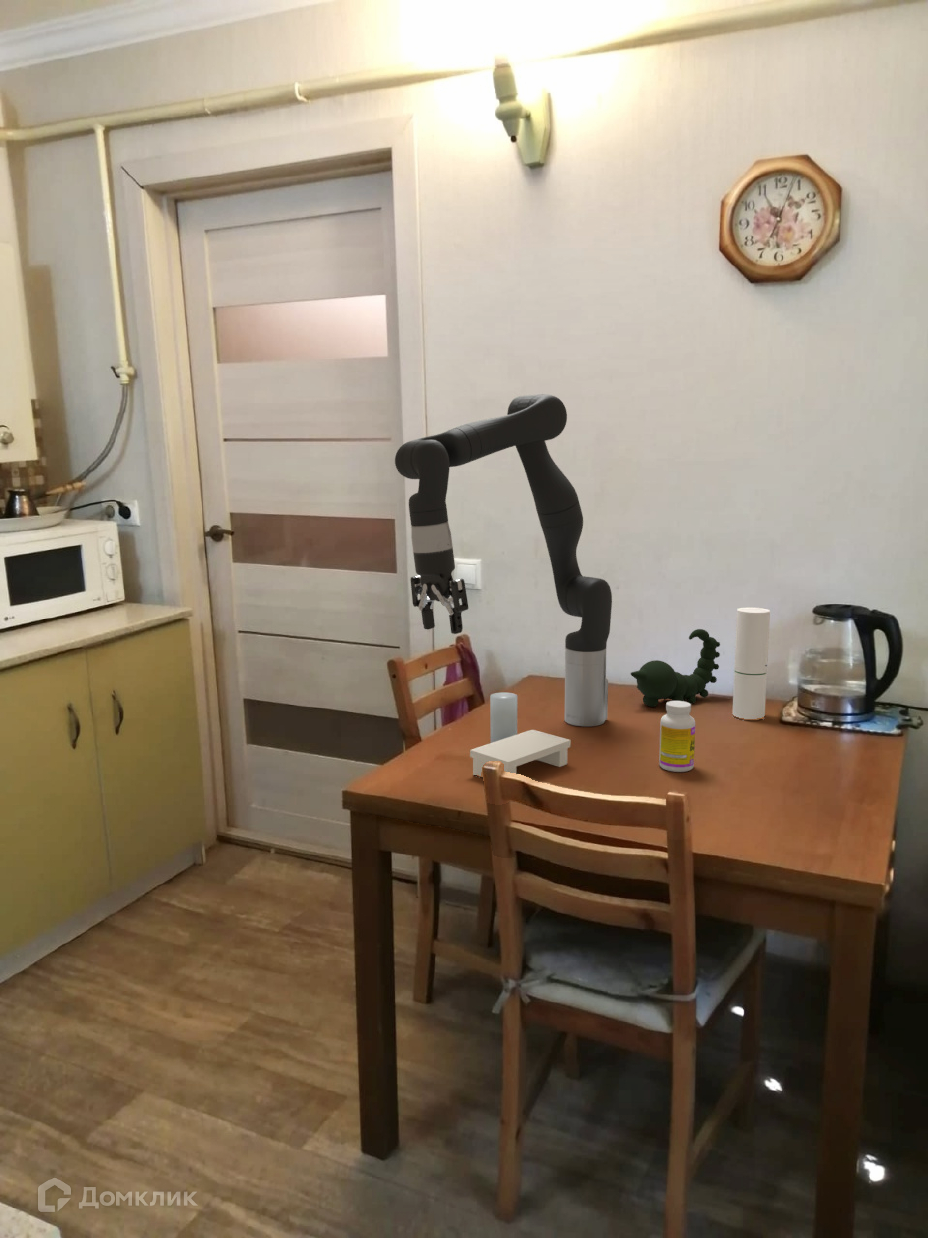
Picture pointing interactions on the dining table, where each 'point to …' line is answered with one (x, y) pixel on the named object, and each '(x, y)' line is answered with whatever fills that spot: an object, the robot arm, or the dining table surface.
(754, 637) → the cylindrical container
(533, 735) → the white riser stand
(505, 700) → the white rounded cylinder
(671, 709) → the supplement bottle
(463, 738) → the dining table surface
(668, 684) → the toy figurine
